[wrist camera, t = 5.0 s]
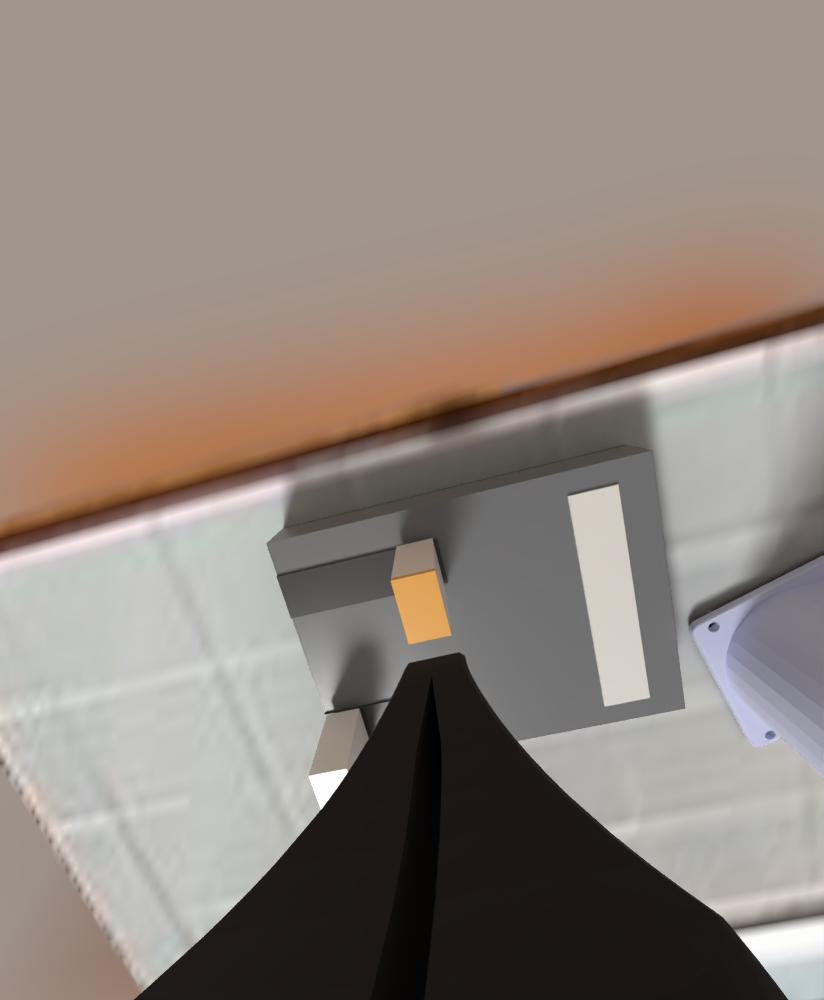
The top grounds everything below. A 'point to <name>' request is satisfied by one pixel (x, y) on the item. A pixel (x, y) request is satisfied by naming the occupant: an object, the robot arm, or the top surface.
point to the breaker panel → (501, 595)
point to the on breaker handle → (336, 752)
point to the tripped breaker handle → (420, 592)
